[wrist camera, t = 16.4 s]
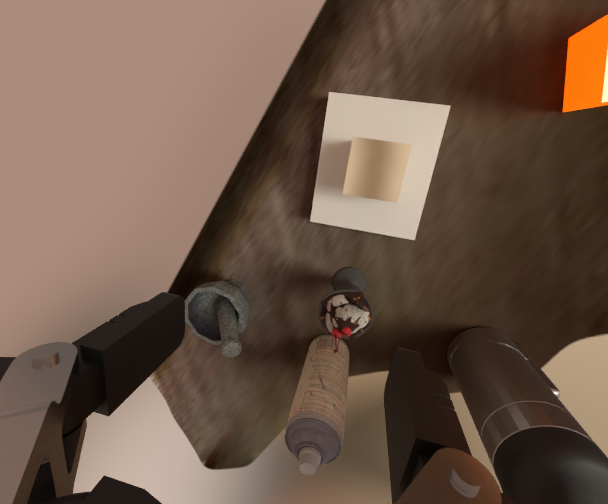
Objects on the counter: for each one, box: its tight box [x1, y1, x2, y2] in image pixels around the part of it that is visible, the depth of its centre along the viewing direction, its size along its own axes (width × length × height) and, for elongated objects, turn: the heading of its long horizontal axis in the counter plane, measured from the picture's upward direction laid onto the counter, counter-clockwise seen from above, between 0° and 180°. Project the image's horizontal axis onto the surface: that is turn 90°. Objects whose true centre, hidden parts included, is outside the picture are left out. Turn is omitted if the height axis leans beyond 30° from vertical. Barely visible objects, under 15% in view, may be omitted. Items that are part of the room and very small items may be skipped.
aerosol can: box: [285, 334, 350, 475], centre depth 40 cm, size 7×7×20 cm
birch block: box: [342, 136, 412, 203], centre depth 34 cm, size 6×6×6 cm
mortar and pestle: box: [185, 280, 249, 358], centre depth 44 cm, size 11×9×12 cm
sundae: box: [318, 267, 374, 353], centre depth 38 cm, size 7×7×15 cm
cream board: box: [310, 92, 450, 240], centre depth 38 cm, size 14×16×3 cm
